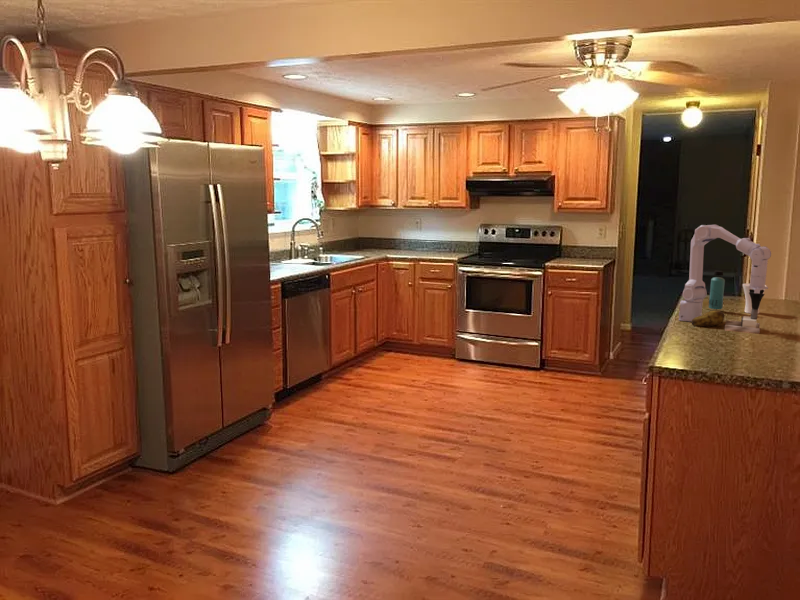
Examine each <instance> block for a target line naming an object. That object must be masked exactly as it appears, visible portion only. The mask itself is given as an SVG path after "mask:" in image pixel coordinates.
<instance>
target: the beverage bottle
mask: <svg viewBox="0 0 800 600" xmlns="http://www.w3.org/2000/svg"><path fill="white" fill-rule="evenodd" d="M713 276H715V277H712V278H711V279H710V286H709V297H708V298H709V300H708V308H709V309H711V310H722V309H723V307H724V306H723V305H724V296H725V295H724V293H725V292H724V291H725V283H726V279H725V278H724V277H720V276H724V271H722V270H714V272H713Z"/></svg>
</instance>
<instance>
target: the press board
mask: <svg viewBox="0 0 800 600" xmlns="http://www.w3.org/2000/svg"><path fill="white" fill-rule="evenodd" d="M760 326H761V325H760V323H759V322H756V328H753V327H742V326H741V320H739V321H738V320H729V319H728V320H727V319H726V320H725V325H724V331H726V332H727V331H728V332H735V333H746V334H747V333H748V334H758V335H760V333H761V332H760V331H761V328H760Z"/></svg>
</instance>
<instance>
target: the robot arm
mask: <svg viewBox="0 0 800 600" xmlns="http://www.w3.org/2000/svg"><path fill="white" fill-rule="evenodd" d="M716 239H722V240H724V241H725V242H728V243H730V244H732V245H734V246H735V248H736V250H737V251H739V252H741V253H743V254H744V255H746V256H748V257H749V258H750V260H751V269H750V277H749V283H750V286H749V288H751V289H750V290H749V291H750V292H749V294H750V297H751V302H752V309H754V310H758V308H759V309H760V307H759V305H760V306H761V301H762V299H763V298H764V296H765V291H764V290H763V289H765V290H768V289H769V286H767V287H765V285H766V280H767V272H768V262H769V261H768V260H769V259H770V258H771V257H772V251H771V249H770V248H768V246H761V244H760V243H756V242H754V241H752V240H751V238H749V237H743V238H740V237H738V236H737V235H735V234H733V233H731V232H730V231H729V230H727V229H725V228H724V227H723V226H719V225H718V224H707V225H706V224H701V225H699V226H698V227H697V228H695V229H694V234H693V237H692V238H691V240H690V251H689V252H690V255H689V271H688V272H689V274H688V275H689V277H688V280H687V282H686V283H684V288H683V291H682V297H683V299H684V300H683V299H681V300H680V303H679V304H680V305H679V311H678V321H680V322H681V321H684V322H692V319H694V318H695V317H698V316H702V315H703V314H702V313H703V312H702V311H703V304H704V303H703V302H704V300H705V298H706V297H707V288H706V282H705V281H703V275H704V273H703V272H704V254H705V253H704V252H705V245H707V244H708V243H709V242H711V241H713V240H716ZM752 289H753V290H752ZM763 292H764V294H763Z"/></svg>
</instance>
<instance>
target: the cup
mask: <svg viewBox="0 0 800 600" xmlns="http://www.w3.org/2000/svg"><path fill="white" fill-rule="evenodd" d="M749 286H750V282H748V283H742V288H743V293H744V296H745V299H744V300H745V307H744V312H745V313H747V314H751V310H752V302H751V297H750V294H749V292H750V291H749V290H750V289H751V288H749ZM765 287H768V286H767V285H766V284H765ZM752 290H753V289H752ZM763 290H764V292H763V294H764V295H765V291H766V289H763ZM760 307H761V304H760V305H759V308H758V314H760Z"/></svg>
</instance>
